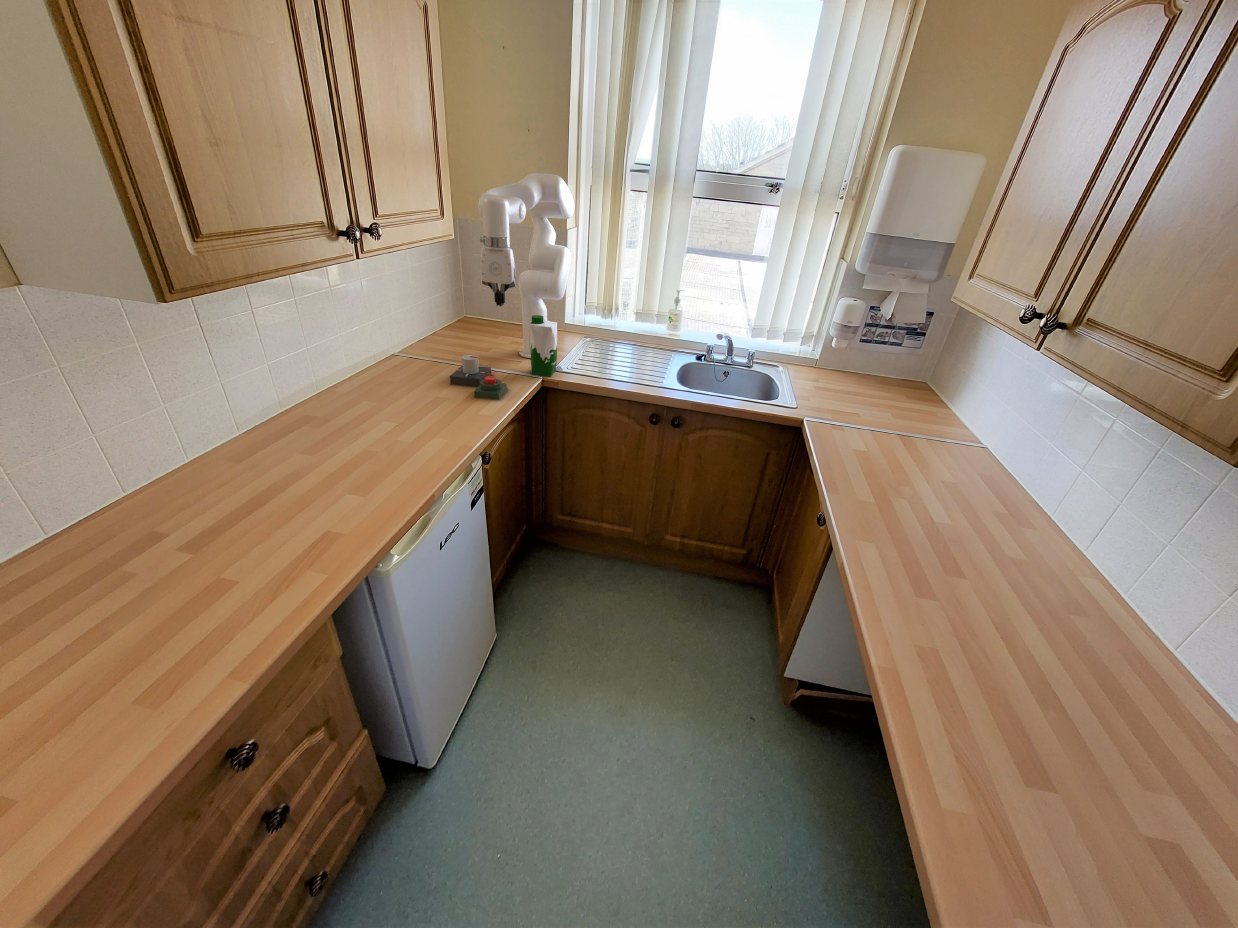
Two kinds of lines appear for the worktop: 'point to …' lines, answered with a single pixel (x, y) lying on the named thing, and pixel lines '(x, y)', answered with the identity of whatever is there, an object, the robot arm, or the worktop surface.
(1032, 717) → the worktop surface
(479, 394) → the button box
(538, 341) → the milk carton
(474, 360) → the dial knob
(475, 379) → the dial panel
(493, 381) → the button
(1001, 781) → the worktop surface
